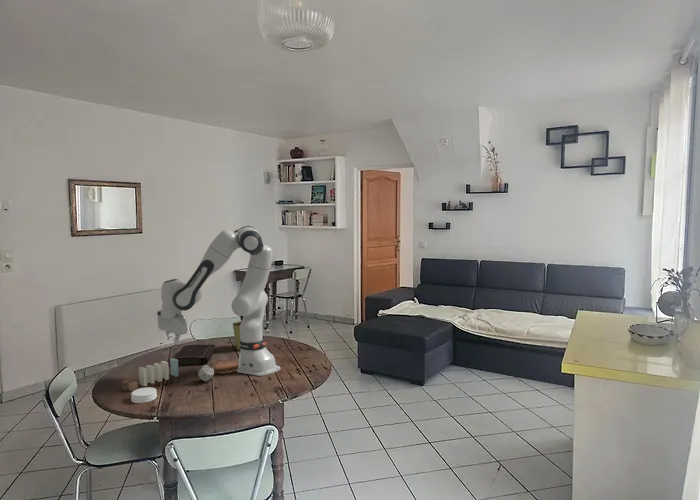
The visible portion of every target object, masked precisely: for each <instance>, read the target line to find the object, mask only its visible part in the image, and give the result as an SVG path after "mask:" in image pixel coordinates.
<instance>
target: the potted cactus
mask: <svg viewBox="0 0 700 500" xmlns="http://www.w3.org/2000/svg"><path fill="white" fill-rule="evenodd" d="M242 320H243V316H239V320H238V321H237V320H236V321H234V322H233V323H232V328H233V334H234V340H235V345H236V349H237V350H238V351H240V350H241V348H240V345H239V343H240V324H241V322H242Z"/></svg>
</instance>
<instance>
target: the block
mask: <svg viewBox="0 0 700 500" xmlns="http://www.w3.org/2000/svg"><path fill="white" fill-rule="evenodd" d="M122 389H123V390H126V391H128V392H130V393H132V392H133V391H134V390H137V389H139V381H138V382H137V381H135V380H133V379H127V380H122ZM131 391H132V392H131Z"/></svg>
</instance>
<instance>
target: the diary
mask: <svg viewBox="0 0 700 500" xmlns="http://www.w3.org/2000/svg"><path fill="white" fill-rule="evenodd" d="M215 352H216V345H215V344H188V345H187V344H186V345H183V346H182V347H181V348H180V349H179V351H177V352H176V353H175V354H174V356H173V357H172V358H174V359H177V360H178V367H187V366H188V367H190V366H197V365H208V364H209V361H210V360H211V358H212V357H213V354H214V353H215Z"/></svg>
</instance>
